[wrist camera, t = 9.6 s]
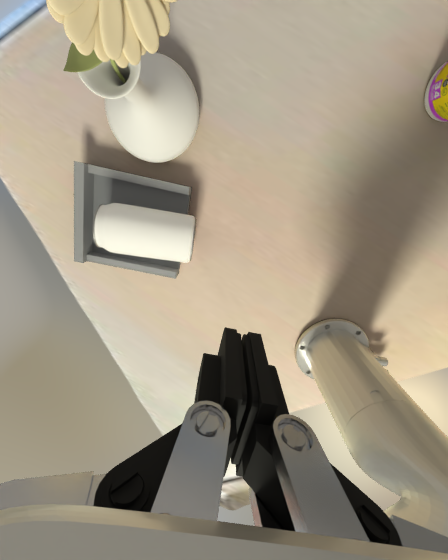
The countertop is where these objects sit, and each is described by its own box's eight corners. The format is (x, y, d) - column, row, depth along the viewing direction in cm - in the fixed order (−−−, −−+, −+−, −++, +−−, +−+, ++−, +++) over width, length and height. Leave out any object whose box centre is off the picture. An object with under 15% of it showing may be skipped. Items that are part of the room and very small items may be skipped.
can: (194, 228, 37) (112, 215, 35) (198, 207, 31) (98, 189, 29) (189, 268, 35) (103, 257, 33) (192, 255, 29) (86, 240, 27)
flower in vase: (150, 181, 33) (-25, 154, 10) (92, 99, 30) (-369, -224, 7) (228, 121, 31) (241, -103, 7) (174, 25, 28) (-101, -901, 4)
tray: (191, 187, 34) (188, 186, 30) (178, 273, 38) (174, 280, 35) (89, 164, 33) (74, 161, 29) (87, 255, 37) (74, 261, 34)
